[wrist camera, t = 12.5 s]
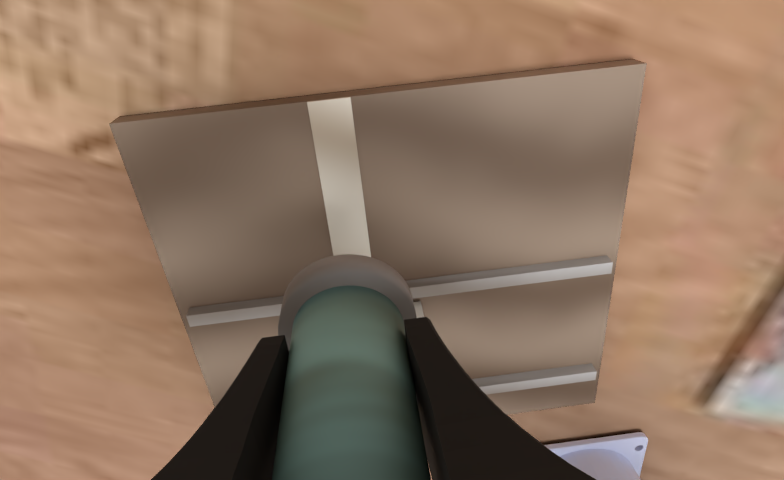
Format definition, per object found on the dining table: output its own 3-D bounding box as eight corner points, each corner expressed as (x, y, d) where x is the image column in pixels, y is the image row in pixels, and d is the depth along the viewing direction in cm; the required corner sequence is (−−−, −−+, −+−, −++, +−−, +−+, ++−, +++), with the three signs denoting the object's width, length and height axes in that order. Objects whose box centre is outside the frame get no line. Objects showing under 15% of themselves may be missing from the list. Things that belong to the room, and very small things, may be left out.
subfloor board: (587, 389, 28) (599, 411, 27) (234, 436, 28) (229, 461, 26) (633, 58, 20) (655, 66, 18) (119, 116, 19) (102, 128, 18)
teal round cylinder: (417, 352, 16) (463, 584, 10) (294, 368, 16) (266, 613, 10) (408, 246, 14) (458, 455, 8) (269, 263, 14) (214, 488, 8)
